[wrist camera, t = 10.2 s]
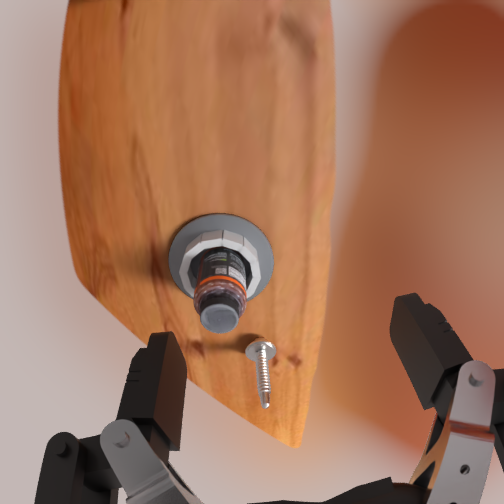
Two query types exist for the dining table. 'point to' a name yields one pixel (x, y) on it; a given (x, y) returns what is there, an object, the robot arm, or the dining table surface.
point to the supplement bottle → (220, 289)
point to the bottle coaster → (228, 225)
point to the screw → (262, 366)
